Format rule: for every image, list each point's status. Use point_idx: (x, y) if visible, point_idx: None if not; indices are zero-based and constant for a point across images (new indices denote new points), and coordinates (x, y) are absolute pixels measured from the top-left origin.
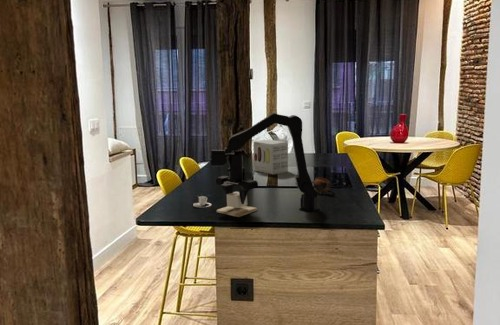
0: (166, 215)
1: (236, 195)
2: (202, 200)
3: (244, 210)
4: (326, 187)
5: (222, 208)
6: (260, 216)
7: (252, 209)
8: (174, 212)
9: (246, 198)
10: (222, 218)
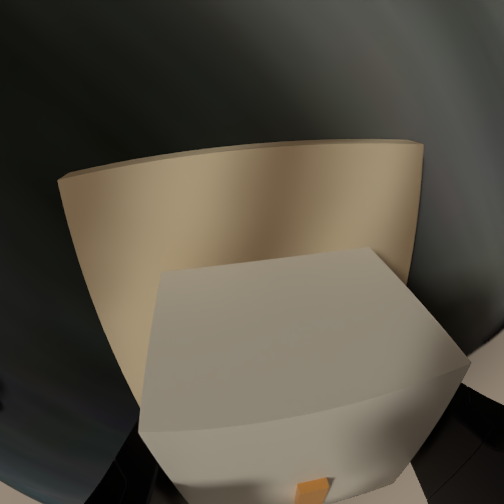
0: (69, 495)
1: (364, 487)
2: None
3: None
4: None
5: (140, 384)
6: (487, 259)
7: (412, 218)
8: (37, 472)
9: (415, 313)
10: None
